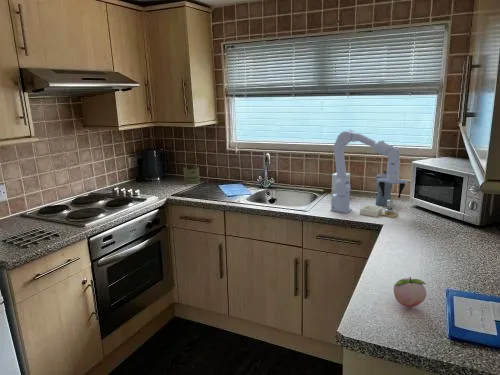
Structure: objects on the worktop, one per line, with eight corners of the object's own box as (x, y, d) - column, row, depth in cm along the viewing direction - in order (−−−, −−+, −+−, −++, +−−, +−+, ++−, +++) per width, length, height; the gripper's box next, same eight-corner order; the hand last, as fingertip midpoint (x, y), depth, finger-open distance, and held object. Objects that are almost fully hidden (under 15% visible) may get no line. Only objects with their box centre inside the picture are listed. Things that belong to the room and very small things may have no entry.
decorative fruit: (413, 298, 122) (416, 269, 120) (429, 312, 115) (432, 281, 112) (386, 301, 121) (388, 272, 119) (400, 315, 113) (402, 284, 111)
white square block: (350, 196, 241) (350, 173, 237) (345, 199, 234) (346, 175, 230) (336, 194, 246) (336, 171, 242) (331, 198, 238) (331, 174, 235)
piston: (182, 167, 288) (197, 166, 292) (183, 183, 291) (198, 181, 295) (184, 170, 278) (200, 168, 281) (185, 186, 281) (201, 184, 284)
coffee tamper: (383, 212, 202) (384, 200, 201) (386, 210, 206) (387, 198, 204) (392, 213, 200) (393, 201, 198) (395, 211, 203) (395, 199, 202)
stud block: (380, 215, 202) (380, 212, 202) (384, 212, 208) (384, 209, 208) (394, 218, 198) (394, 214, 198) (398, 214, 204) (398, 211, 203)
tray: (359, 214, 206) (360, 208, 205) (365, 209, 213) (366, 204, 212) (376, 217, 201) (376, 211, 200) (382, 212, 208) (382, 207, 207)
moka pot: (373, 207, 217) (375, 172, 212) (375, 200, 231) (377, 167, 226) (391, 208, 214) (393, 173, 209) (392, 201, 228) (394, 168, 223)
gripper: (377, 171, 196) (375, 197, 199) (407, 173, 190) (405, 200, 193) (378, 169, 202) (377, 194, 205) (408, 171, 196) (406, 196, 199)
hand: (391, 197), depth 199 cm, fingers open, 7 cm apart
